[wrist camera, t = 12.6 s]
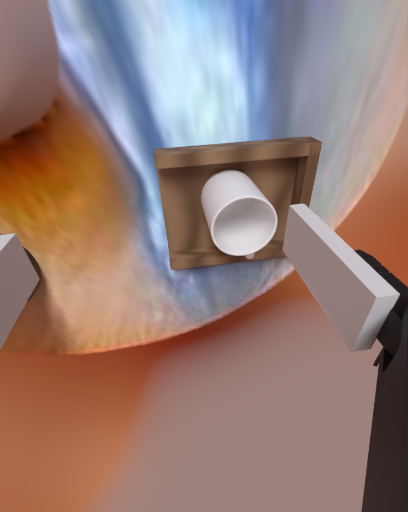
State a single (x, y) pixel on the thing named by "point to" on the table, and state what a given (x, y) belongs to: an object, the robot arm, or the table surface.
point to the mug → (237, 213)
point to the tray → (241, 159)
